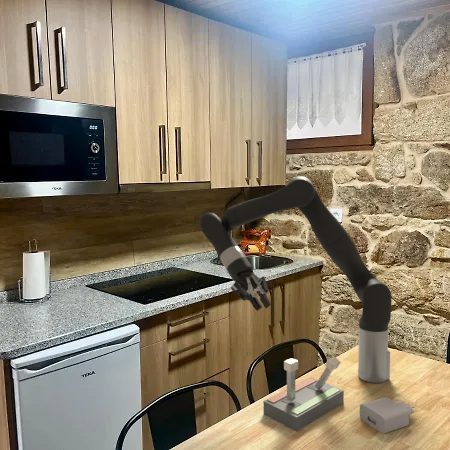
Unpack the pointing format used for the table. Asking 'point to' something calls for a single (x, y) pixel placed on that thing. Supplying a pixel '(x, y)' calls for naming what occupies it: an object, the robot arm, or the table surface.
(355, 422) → the table surface
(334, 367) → the lever on
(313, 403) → the switch box
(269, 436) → the table surface
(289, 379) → the switch lever
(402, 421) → the charger
